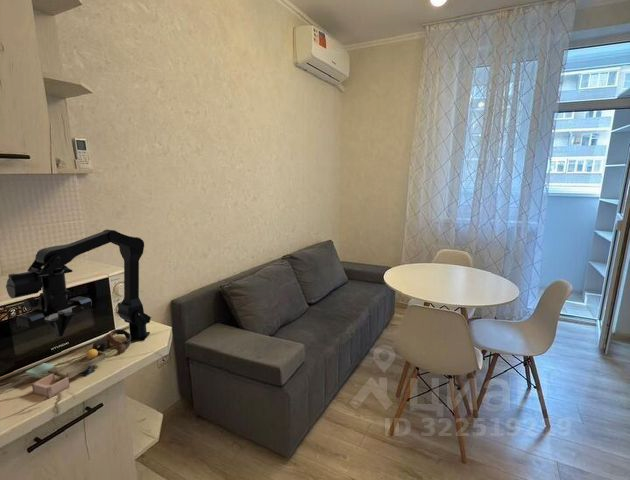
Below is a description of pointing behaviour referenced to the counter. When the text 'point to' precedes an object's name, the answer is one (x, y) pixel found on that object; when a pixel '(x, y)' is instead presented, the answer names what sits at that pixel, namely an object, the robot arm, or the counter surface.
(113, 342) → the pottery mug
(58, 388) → the dish
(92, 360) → the lever
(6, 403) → the counter surface
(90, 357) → the ball
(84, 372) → the fulcrum
